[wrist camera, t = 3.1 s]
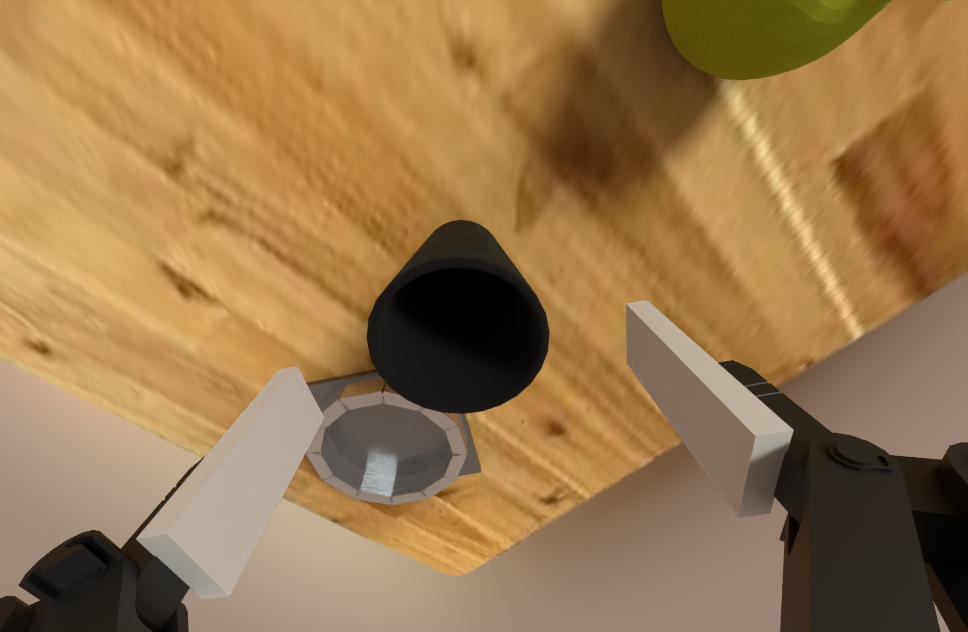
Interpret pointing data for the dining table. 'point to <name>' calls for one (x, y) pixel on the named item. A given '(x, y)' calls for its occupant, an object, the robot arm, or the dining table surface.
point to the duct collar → (386, 442)
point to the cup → (458, 324)
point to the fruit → (762, 32)
